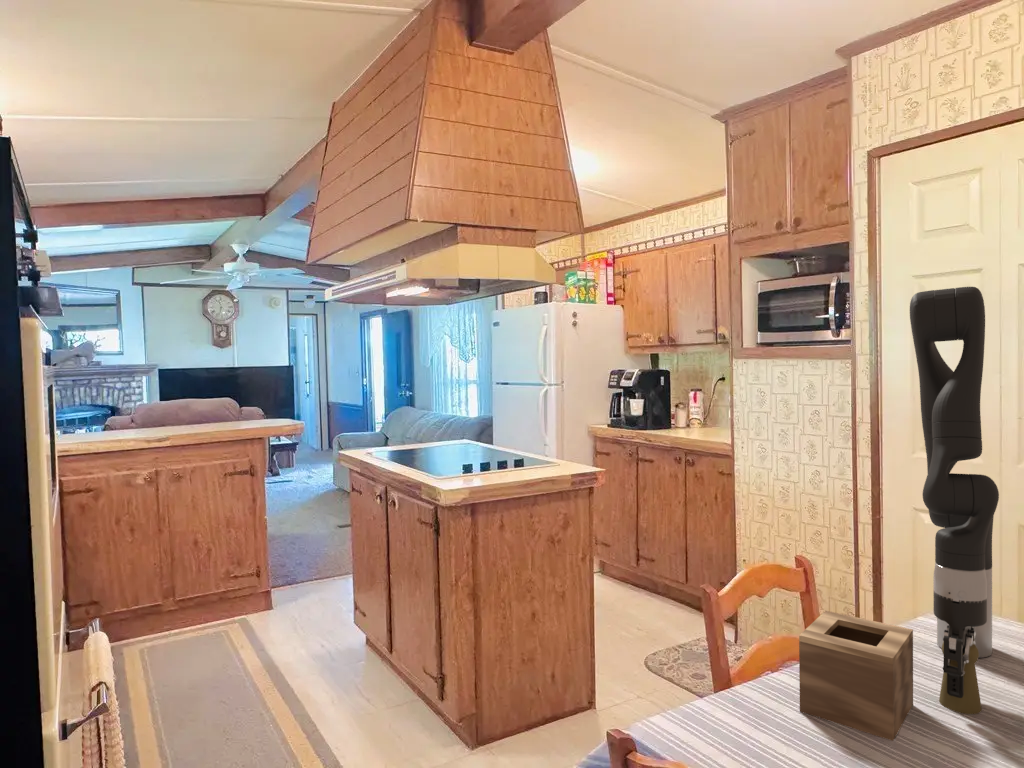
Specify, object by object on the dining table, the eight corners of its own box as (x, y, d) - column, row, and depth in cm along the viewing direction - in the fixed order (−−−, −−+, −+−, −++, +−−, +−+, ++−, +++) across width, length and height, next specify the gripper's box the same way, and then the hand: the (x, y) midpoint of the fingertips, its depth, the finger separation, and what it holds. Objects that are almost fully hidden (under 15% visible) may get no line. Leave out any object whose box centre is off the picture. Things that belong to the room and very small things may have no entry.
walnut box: (826, 680, 124) (825, 610, 123) (913, 705, 115) (912, 629, 114) (799, 711, 113) (799, 635, 113) (893, 741, 104) (892, 658, 104)
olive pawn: (988, 715, 111) (988, 649, 110) (947, 712, 112) (947, 647, 112) (971, 697, 117) (971, 634, 116) (933, 694, 118) (932, 632, 118)
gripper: (941, 576, 121) (941, 665, 122) (925, 598, 111) (925, 695, 111) (992, 585, 116) (992, 677, 117) (980, 608, 106) (980, 710, 106)
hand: (959, 686), depth 114 cm, fingers open, 8 cm apart
